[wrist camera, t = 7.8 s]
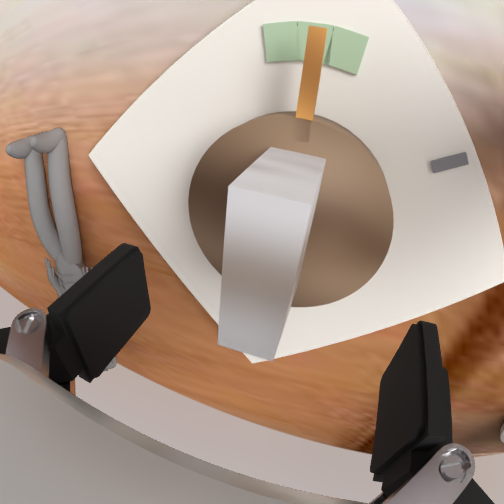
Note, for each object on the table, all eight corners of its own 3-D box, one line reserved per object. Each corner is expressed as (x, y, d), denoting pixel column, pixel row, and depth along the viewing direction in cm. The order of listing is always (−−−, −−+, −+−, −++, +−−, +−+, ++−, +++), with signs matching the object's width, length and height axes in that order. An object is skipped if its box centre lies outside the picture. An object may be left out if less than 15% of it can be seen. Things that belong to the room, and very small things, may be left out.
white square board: (501, 266, 16) (509, 281, 14) (257, 350, 26) (251, 365, 25) (349, -43, 10) (348, -54, 8) (102, 148, 20) (86, 156, 19)
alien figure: (36, 134, 16) (126, 389, 29) (84, 120, 21) (148, 357, 33) (-9, 150, 19) (74, 366, 31) (31, 134, 23) (97, 340, 35)
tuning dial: (358, 303, 18) (348, 401, 13) (202, 260, 20) (144, 337, 15) (429, 61, 10) (490, 53, 5) (217, 23, 12) (127, 4, 7)
